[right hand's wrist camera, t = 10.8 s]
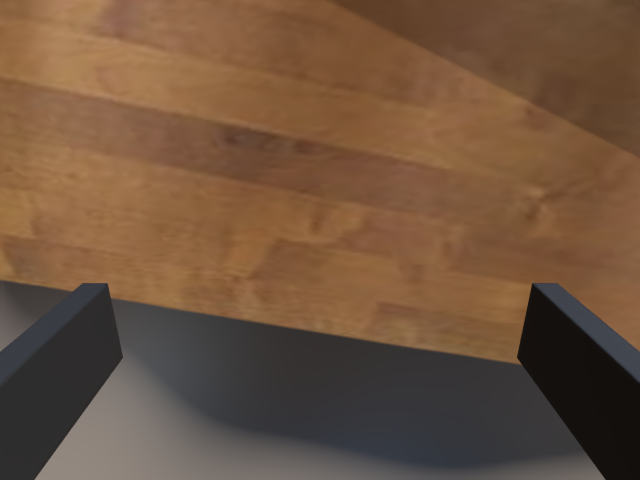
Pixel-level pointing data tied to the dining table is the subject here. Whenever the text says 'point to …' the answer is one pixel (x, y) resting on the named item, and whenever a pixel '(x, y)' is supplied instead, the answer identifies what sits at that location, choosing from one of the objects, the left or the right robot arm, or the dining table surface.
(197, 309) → the dining table surface
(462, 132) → the dining table surface
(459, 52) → the dining table surface
